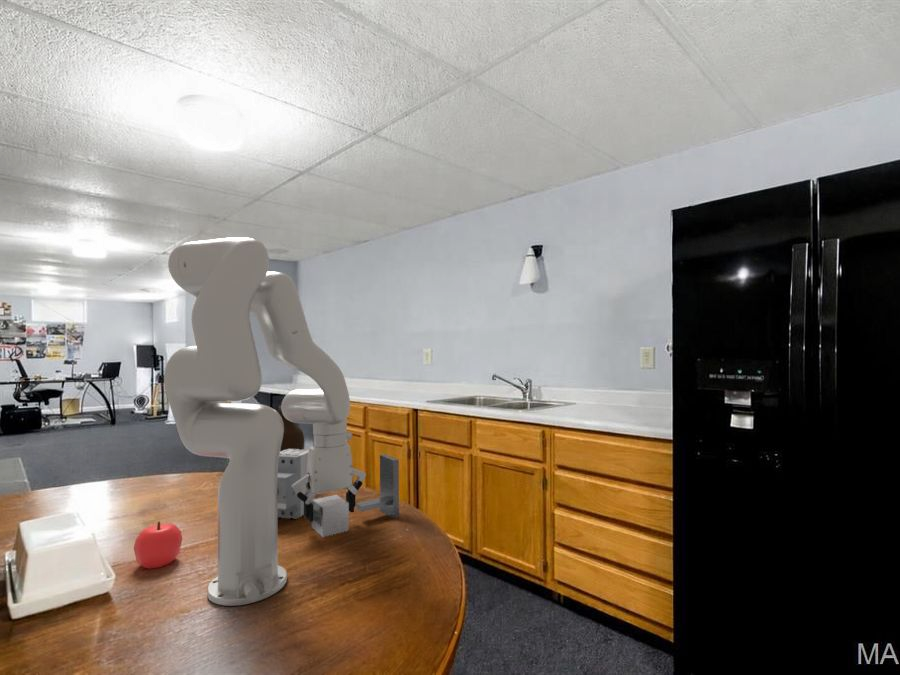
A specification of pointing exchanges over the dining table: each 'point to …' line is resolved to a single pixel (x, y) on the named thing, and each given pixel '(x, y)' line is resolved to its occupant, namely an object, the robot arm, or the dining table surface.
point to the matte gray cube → (330, 515)
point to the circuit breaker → (291, 482)
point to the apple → (158, 545)
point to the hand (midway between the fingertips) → (330, 515)
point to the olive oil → (291, 435)
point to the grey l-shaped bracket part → (386, 489)
